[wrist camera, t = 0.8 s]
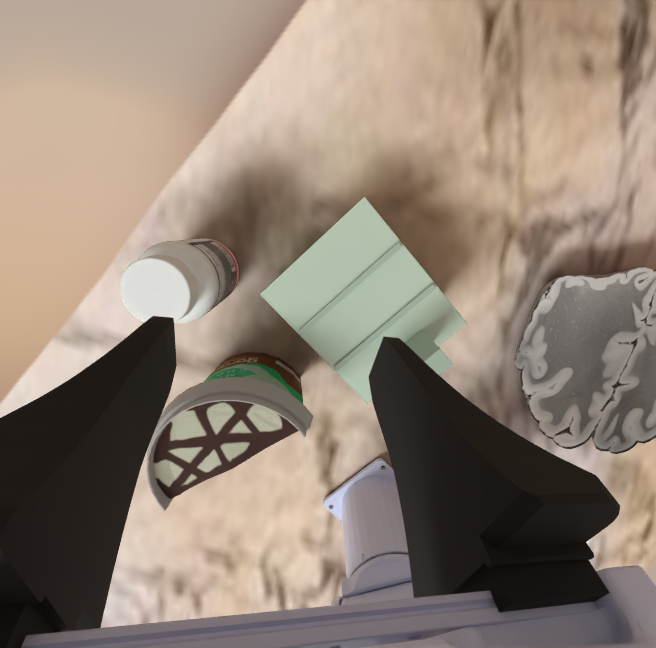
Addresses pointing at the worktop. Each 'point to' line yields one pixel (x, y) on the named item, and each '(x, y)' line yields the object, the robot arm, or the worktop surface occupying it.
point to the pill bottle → (179, 280)
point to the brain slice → (593, 359)
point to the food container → (224, 422)
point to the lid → (363, 298)
